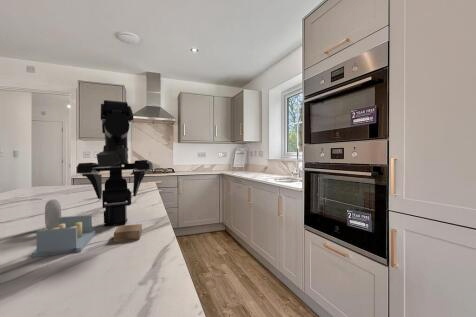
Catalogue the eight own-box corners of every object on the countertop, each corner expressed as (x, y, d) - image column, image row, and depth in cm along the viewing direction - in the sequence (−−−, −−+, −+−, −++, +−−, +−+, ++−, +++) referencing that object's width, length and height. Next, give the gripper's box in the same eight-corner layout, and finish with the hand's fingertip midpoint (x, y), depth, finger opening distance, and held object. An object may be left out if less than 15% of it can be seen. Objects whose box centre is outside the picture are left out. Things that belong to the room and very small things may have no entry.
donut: (62, 232, 73) (62, 200, 73) (48, 235, 71) (48, 202, 70) (57, 226, 80) (56, 196, 80) (44, 228, 77) (43, 198, 77)
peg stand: (95, 233, 72) (95, 214, 71) (80, 251, 58) (80, 227, 58) (56, 237, 68) (56, 217, 68) (31, 257, 55) (31, 232, 55)
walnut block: (141, 233, 73) (141, 224, 73) (139, 240, 66) (139, 230, 66) (118, 235, 71) (118, 226, 71) (114, 243, 64) (113, 232, 64)
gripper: (65, 139, 58) (65, 202, 57) (144, 136, 62) (146, 196, 60) (85, 146, 69) (86, 199, 67) (152, 144, 72) (153, 194, 71)
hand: (117, 197), depth 66 cm, fingers open, 9 cm apart
